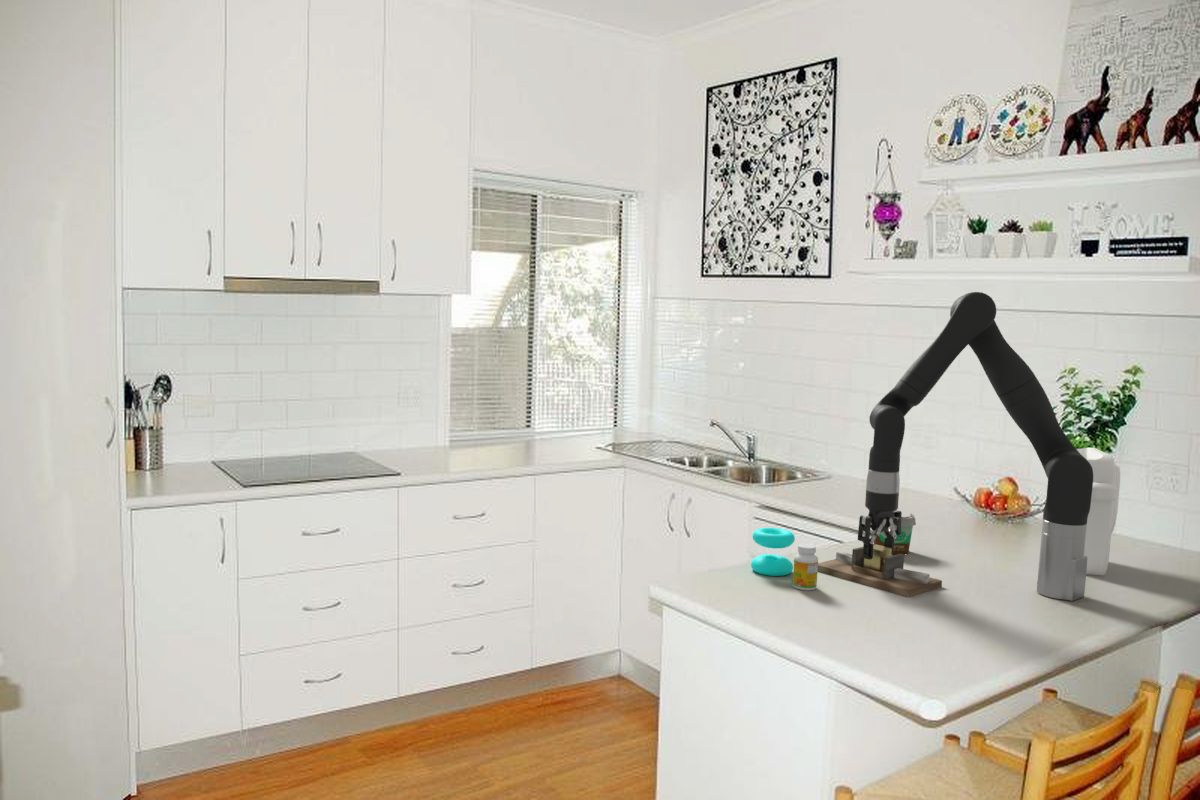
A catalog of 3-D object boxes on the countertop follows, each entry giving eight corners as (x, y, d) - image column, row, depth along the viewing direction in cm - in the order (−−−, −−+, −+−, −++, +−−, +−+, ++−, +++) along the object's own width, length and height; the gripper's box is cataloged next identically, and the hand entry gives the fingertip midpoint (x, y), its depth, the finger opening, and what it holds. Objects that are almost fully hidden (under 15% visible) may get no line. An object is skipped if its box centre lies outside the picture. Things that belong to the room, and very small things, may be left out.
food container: (881, 557, 258) (884, 519, 257) (868, 551, 264) (871, 514, 263) (923, 556, 262) (925, 518, 260) (910, 550, 267) (912, 513, 266)
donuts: (750, 533, 236) (755, 524, 246) (748, 574, 237) (753, 564, 247) (793, 537, 234) (796, 528, 243) (790, 579, 235) (794, 568, 244)
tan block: (893, 573, 237) (895, 549, 237) (882, 576, 234) (884, 551, 234) (870, 567, 242) (872, 543, 241) (859, 570, 239) (861, 545, 239)
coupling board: (941, 586, 233) (943, 559, 232) (907, 596, 224) (909, 568, 223) (848, 561, 253) (850, 536, 252) (814, 570, 244) (815, 544, 243)
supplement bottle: (787, 585, 230) (790, 543, 229) (807, 583, 232) (809, 542, 231) (801, 591, 225) (803, 549, 224) (821, 589, 227) (823, 547, 226)
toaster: (1126, 582, 243) (1138, 460, 240) (1077, 577, 246) (1088, 457, 242) (1095, 554, 270) (1105, 444, 267) (1051, 551, 272) (1060, 442, 269)
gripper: (878, 494, 229) (874, 564, 230) (913, 488, 238) (909, 555, 239) (851, 489, 234) (847, 557, 236) (886, 483, 243) (882, 548, 245)
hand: (878, 556), depth 238 cm, fingers open, 8 cm apart
